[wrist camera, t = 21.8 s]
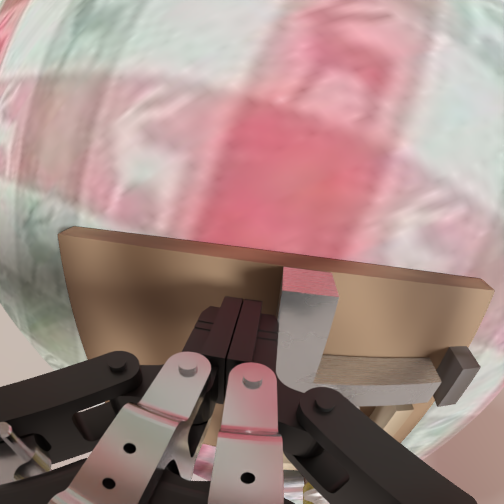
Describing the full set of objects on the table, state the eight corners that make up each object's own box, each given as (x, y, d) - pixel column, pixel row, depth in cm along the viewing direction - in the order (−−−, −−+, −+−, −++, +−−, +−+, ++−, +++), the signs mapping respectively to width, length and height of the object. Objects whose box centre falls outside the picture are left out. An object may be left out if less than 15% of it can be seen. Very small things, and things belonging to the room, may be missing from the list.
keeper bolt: (266, 371, 13) (262, 400, 11) (283, 266, 11) (282, 290, 9) (418, 377, 13) (427, 402, 11) (461, 287, 10) (481, 308, 9)
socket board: (117, 403, 19) (101, 430, 16) (74, 226, 14) (33, 246, 10) (388, 440, 17) (394, 471, 14) (481, 278, 12) (513, 308, 8)
